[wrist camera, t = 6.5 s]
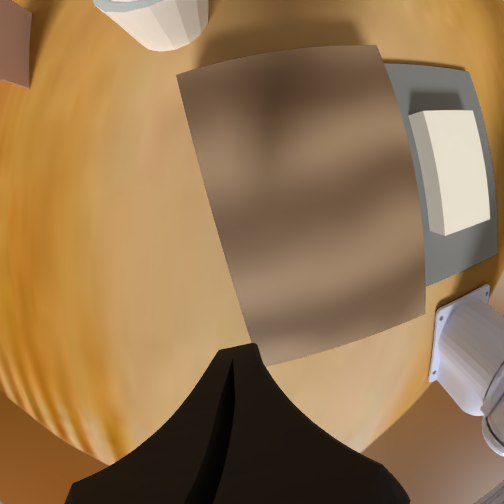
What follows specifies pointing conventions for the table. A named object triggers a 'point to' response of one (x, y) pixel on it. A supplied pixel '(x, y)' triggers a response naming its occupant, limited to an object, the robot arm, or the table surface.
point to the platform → (310, 194)
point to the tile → (451, 169)
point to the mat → (410, 102)
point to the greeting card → (14, 43)
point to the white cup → (159, 20)
